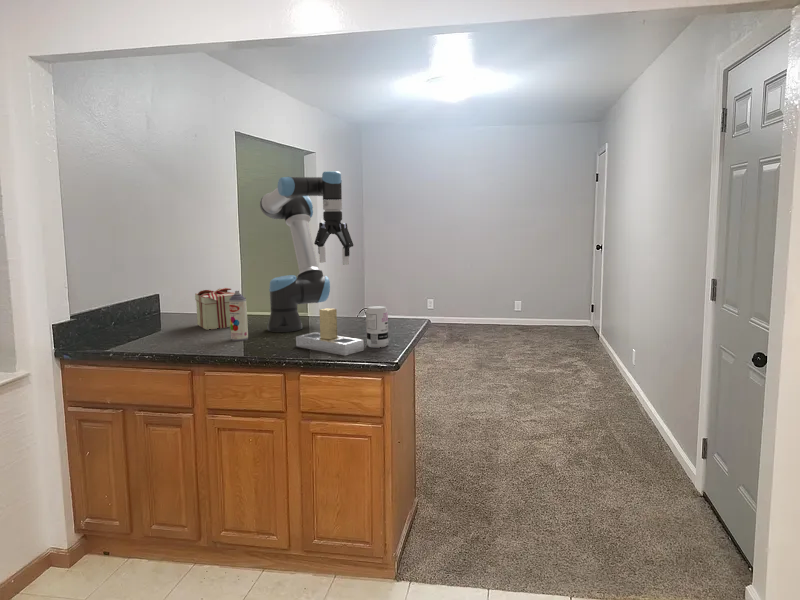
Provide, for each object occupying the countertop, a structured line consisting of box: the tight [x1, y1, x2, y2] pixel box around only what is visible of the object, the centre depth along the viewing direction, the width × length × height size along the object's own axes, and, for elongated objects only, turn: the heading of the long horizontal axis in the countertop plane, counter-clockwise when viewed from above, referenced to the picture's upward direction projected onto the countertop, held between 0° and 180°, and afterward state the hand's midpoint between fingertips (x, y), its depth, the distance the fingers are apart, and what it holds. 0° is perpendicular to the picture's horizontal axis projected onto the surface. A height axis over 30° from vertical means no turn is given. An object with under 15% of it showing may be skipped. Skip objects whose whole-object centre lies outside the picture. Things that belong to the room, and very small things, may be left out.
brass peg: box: [319, 307, 338, 340], centre depth 237 cm, size 4×4×15 cm
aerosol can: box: [229, 290, 249, 342], centre depth 257 cm, size 7×7×20 cm
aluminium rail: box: [295, 331, 365, 356], centre depth 238 cm, size 26×10×4 cm, turn 51°
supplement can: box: [365, 305, 389, 349], centre depth 240 cm, size 8×8×15 cm
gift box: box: [194, 287, 235, 331], centre depth 287 cm, size 17×18×17 cm
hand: (333, 263), depth 256 cm, fingers open, 13 cm apart
